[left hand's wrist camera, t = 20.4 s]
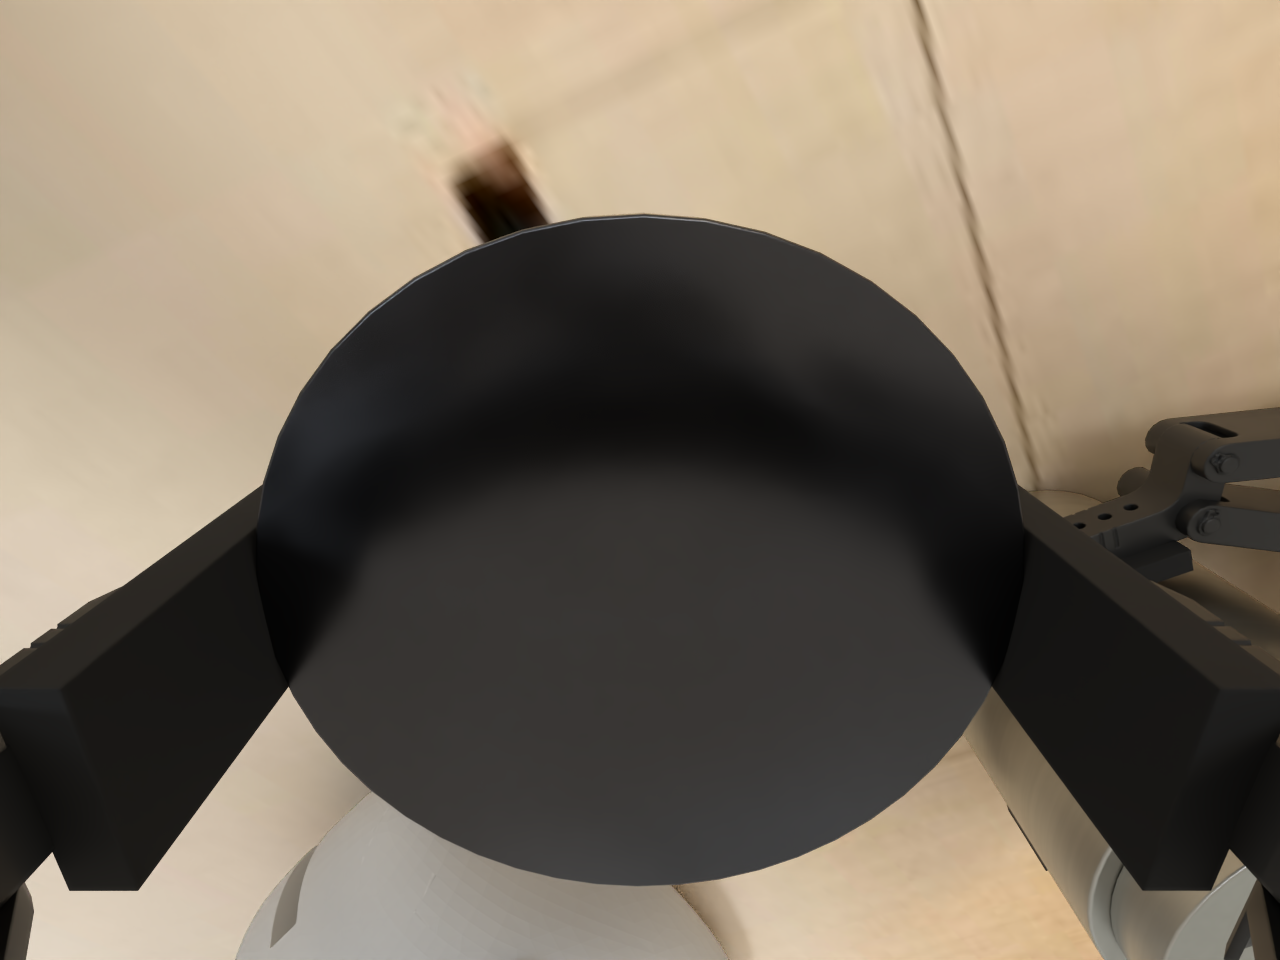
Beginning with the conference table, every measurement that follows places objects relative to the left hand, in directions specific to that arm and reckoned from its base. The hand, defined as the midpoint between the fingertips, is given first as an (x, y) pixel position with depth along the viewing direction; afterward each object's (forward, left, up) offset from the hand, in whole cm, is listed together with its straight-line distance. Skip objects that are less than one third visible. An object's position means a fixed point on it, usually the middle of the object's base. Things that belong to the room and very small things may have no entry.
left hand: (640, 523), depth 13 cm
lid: (0, 0, +3) cm, 3 cm away
